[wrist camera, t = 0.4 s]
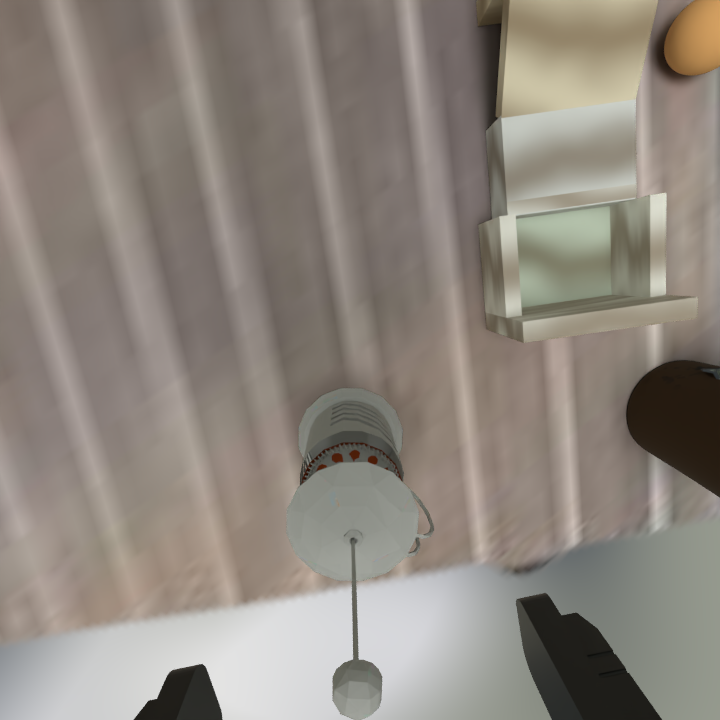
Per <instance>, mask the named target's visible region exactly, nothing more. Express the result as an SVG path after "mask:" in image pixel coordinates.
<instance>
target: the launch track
mask: <svg viewBox="0 0 720 720" xmlns="http://www.w3.org/2000/svg"><path fill="white" fill-rule="evenodd" d="M657 4H658V0H477V2H476V7H477V21H478V26H484V25H492V24H499V23H502V26H501V42H500V57H499V72H498V88H497V103H496V117H498V119H497V120H496V121H495V122H494V123H493V124H492V125H491V126H490V127H489V128H488V129H487V130H486V144H487V158H488V171H489V185H490V199H491V212H492V220H489V221H487V222H484V223H482V224H479V225H478V227H479V240H480V253H481V265H482V278H483V290H484V303H485V316H486V328H487V329H488V330H490V331H493V332H496V333H498V334H501V335H504V336H506V337H509V338H512V339H514V340H517V341H520V342H523V343H527V342H534V341H541V340H548V339H555V338H562V337H569V336H576V335H583V334H590V333H597V332H604V331H611V330H618V329H625V328H632V327H639V326H646V325H653V324H660V323H667V322H674V321H681V320H688V319H695V318H697V316H698V297H690V296H672V295H666V193H661V194H654V195H649V196H645V197H641V198H638V199H636V96H637V91H638V87H639V82H640V78H641V74H642V69H643V65H644V61H645V56H646V52H647V48H648V43H649V39H650V34H651V30H652V26H653V21H654V17H655V13H656V8H657Z"/></svg>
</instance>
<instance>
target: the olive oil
mask: <svg viewBox="0 0 720 720" xmlns="http://www.w3.org/2000/svg"><path fill="white" fill-rule="evenodd" d="M627 422H628V427H629V430H630V432H631V434H632V436H633V438H634V439H635V441H636V442H637V443H638V444H639V445H640V446H641V447H642V448H644V449H645V450H646V451H648V452H650V453H651V454H653V455H654V456H656V457H658V458H659V459H661V460H662V461H664V462H666V463H667V464H669V465H670V466H672V467H674V468H675V469H677V470H678V471H680V472H682V473H683V474H685V475H686V476H688V477H689V478H691V479H692V480H694V481H696V482H697V483H699V484H700V485H702V486H703V487H705V488H706V489H708V490H709V491H711V492H712V493H714V494H715V495H717V496H718V497H720V367H719V366H715V365H710V364H705V363H700V362H695V361H674V362H670V363H667V364H664V365H662V366H659V367H658V368H656V369H654V370H653V371H651V372H650V373H649V374H647V375H646V376H645V377H644V378H643V379H642V380H641V381H640V382H639V384H638V385H637V387H636V388H635V390H634V391H633V393H632V395H631V398H630V401H629V404H628V409H627Z"/></svg>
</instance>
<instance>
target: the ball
mask: <svg viewBox="0 0 720 720" xmlns="http://www.w3.org/2000/svg"><path fill="white" fill-rule="evenodd" d="M664 54H665V58H666V61H667V63H668V65H669V66H670V67H671V68H672V69H673V70H674V71H676V72H677V73H680V74H683V75H700V74H704V73H707V72H710V71H712V70H714V69H716V68H718V67H719V66H720V0H694V1H693V2H692V3H690V4H689V5H688V6H687V7H686V8H685V9H683V10H682V12H681V13H680V14H679V15H678V16H677V17H676V19H675V20H674V22H673V23H672V25H671V27H670V29H669V31H668V33H667V36H666V39H665V45H664Z"/></svg>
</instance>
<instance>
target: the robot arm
mask: <svg viewBox="0 0 720 720" xmlns="http://www.w3.org/2000/svg"><path fill="white" fill-rule="evenodd" d="M516 606H517V612H518V618H519V625H520V631H521V637H522V644H523V649H524V653H525V657H526V661H527V664H528V666H529V670H530V672H531V675H532V677H533V680H534V682H535V684H536V686H537V688H538V690H539V693H540V695H541V697H542V699H543V701H544V703H545V706H546V708H547V710H548V712H549V714H550V716H551V718H552V720H662V719H661V718H660V716H659V715H658V713H657V712H656V711H655V709H654V708H653V706H652V705H651V704H650V702H649V701H648V699H647V698H646V696H645V695H644V694H643V692H642V691H641V690H640V688H639V687H638V685H637V684H636V682H635V681H634V679H633V678H632V677H631V675H630V674H629V673H627V671H626V669H625V667H624V665H623V664H622V663H621V661H620V660H619V658H618V657H617V656H616V655H615V654H614V653H613V650H612V648H611V647H610V646H609V644H608V643H607V641H606V640H605V639H604V637H603V636H602V634H601V633H600V632H599V630H598V629H597V628H596V627H595V626H593V625H592V624H591V623H589V622H588V621H587V620H585V619H584V618H583V617H582V616H580V615H579V614H578V613H572V614H567V615H562V616H561V614H560V613H559V611H558V610H557V608H556V606H555V605H554V603H553V602H552V600H551V598H550V597H549V596H548V595H547V594H546V593H543V594H539V595H534V596H529V597H524V598H520V599H517V600H516ZM134 720H222V713H221V709H220V706H219V703H218V700H217V697H216V694H215V692H214V689H213V686H212V683H211V681H210V677H209V675H208V672H207V669H206V667H205V666H204V665H203V664H200V665H195V666H190V667H186V668H180V669H176V670H172V671H171V672H170V673H169V674H168V676H167V678H166V680H165V682H164V684H163V686H162V689H161V691H160V693H159V695H158V698H157V699H155V700H150V701H148V702H147V703H146V705H145V706H144V707H143V709H142V710H141V711H140V712H139V714H138V715H137V716H136V718H135V719H134Z"/></svg>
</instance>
